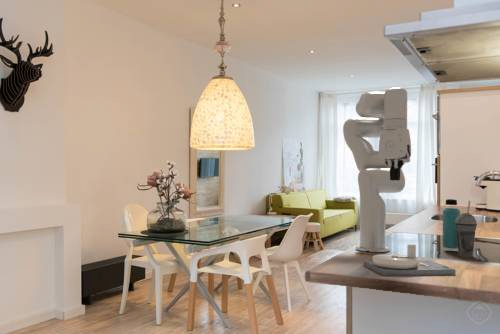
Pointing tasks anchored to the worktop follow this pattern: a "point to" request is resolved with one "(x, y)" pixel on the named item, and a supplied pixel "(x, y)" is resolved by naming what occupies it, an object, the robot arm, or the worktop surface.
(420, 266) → the stand
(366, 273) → the worktop surface
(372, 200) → the robot arm
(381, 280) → the worktop surface
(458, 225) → the beverage cup
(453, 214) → the beverage bottle
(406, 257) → the dial
